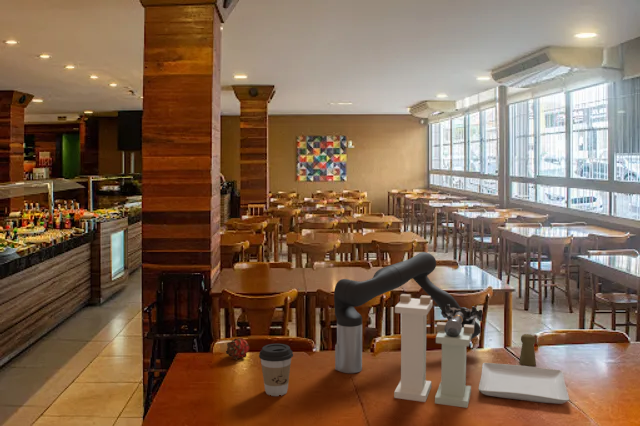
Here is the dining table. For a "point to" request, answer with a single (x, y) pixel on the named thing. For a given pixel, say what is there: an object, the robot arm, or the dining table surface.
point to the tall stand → (413, 348)
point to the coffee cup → (276, 368)
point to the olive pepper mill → (527, 350)
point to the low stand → (453, 367)
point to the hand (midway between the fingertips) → (460, 308)
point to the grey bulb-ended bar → (454, 325)
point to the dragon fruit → (237, 348)
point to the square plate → (523, 383)
